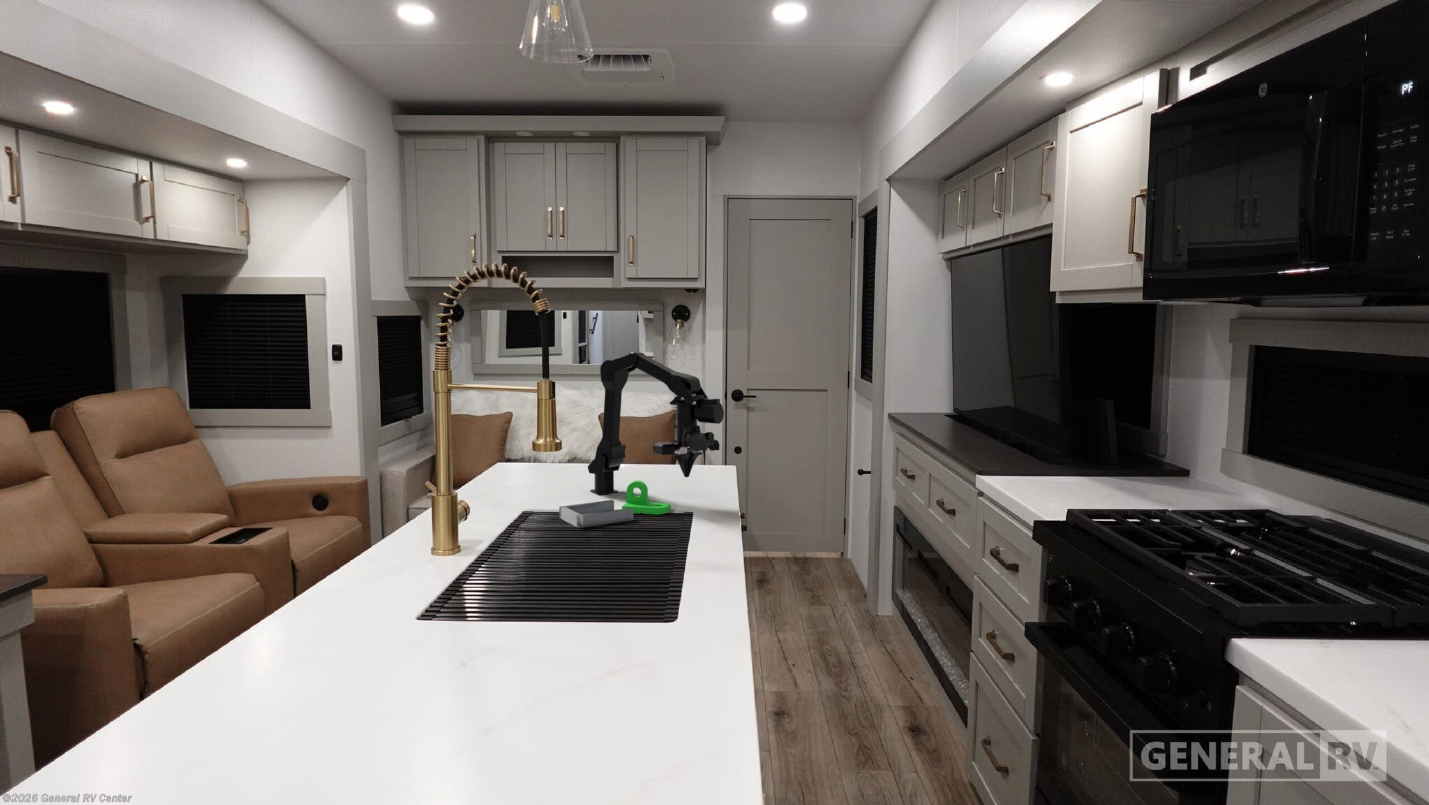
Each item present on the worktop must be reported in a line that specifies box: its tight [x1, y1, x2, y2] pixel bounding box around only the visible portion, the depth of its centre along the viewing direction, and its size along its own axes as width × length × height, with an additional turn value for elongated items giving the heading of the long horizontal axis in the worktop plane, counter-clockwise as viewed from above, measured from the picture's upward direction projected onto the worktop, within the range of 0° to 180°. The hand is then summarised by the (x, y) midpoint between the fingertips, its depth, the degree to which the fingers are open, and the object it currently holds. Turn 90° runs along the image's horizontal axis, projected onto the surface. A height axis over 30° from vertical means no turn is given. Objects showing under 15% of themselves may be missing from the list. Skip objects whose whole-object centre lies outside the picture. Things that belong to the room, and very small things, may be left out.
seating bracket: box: [558, 499, 634, 529], centre depth 193 cm, size 12×15×3 cm
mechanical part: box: [621, 480, 672, 515], centre depth 202 cm, size 12×6×8 cm, turn 79°
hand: (686, 477), depth 208 cm, fingers closed
